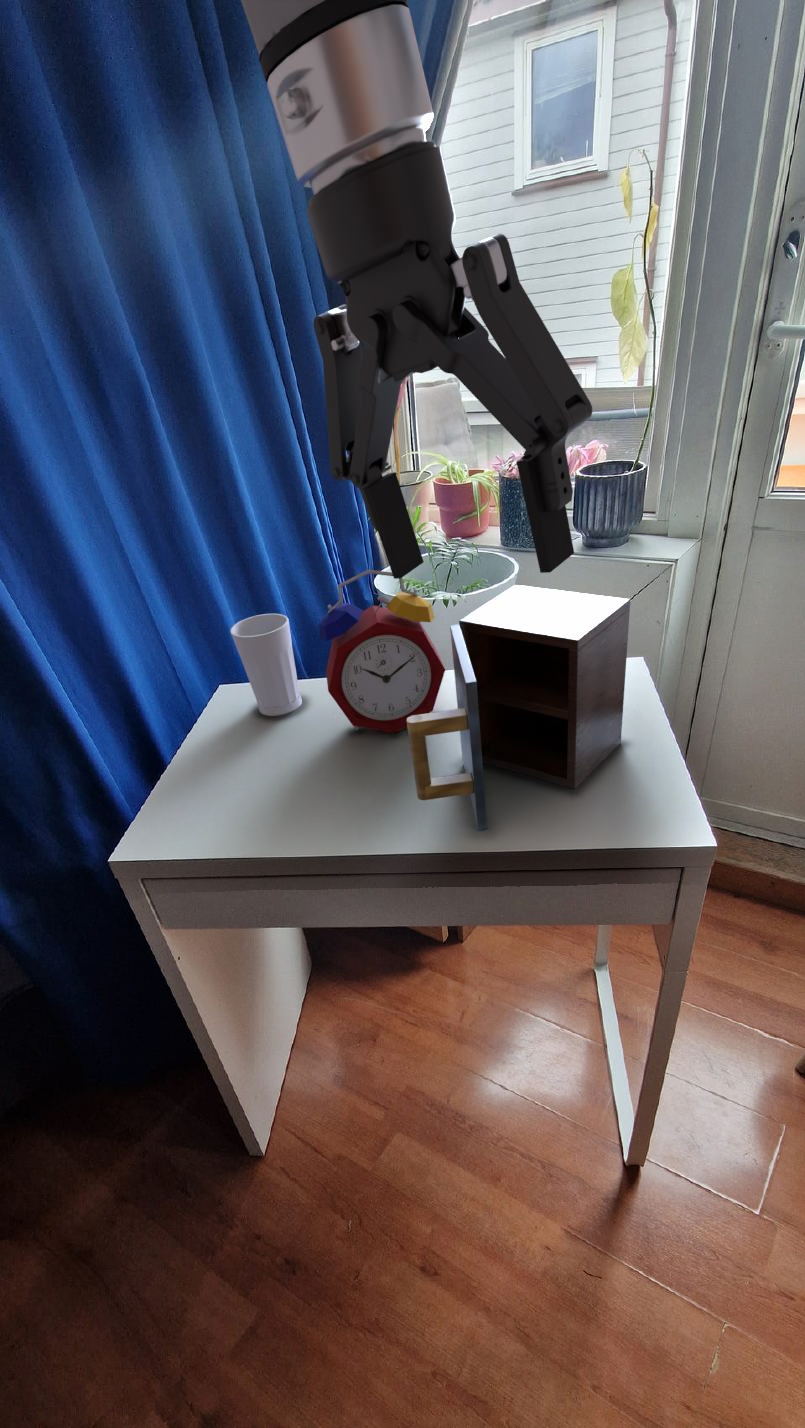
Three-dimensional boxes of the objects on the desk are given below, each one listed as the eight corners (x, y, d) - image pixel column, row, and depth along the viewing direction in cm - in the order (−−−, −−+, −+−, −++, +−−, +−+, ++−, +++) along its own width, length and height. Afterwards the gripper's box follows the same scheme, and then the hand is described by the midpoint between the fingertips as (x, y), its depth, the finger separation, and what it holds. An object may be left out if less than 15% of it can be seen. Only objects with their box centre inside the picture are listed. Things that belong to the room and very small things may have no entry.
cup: (312, 690, 107) (293, 611, 100) (301, 716, 101) (281, 634, 94) (261, 694, 109) (239, 616, 101) (247, 720, 103) (223, 639, 95)
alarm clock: (339, 744, 94) (306, 589, 81) (335, 714, 100) (304, 567, 88) (451, 723, 94) (434, 566, 81) (439, 695, 101) (423, 545, 88)
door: (423, 837, 76) (402, 692, 65) (414, 768, 87) (395, 633, 76) (487, 829, 76) (476, 681, 65) (470, 760, 86) (459, 624, 76)
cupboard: (574, 789, 79) (578, 640, 68) (470, 758, 87) (458, 620, 76) (621, 742, 85) (630, 599, 74) (519, 718, 93) (515, 584, 82)
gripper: (195, 264, 44) (329, 594, 57) (515, 51, 27) (604, 589, 40) (283, 233, 48) (391, 552, 60) (618, 24, 31) (671, 530, 43)
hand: (476, 567), depth 50 cm, fingers open, 13 cm apart
